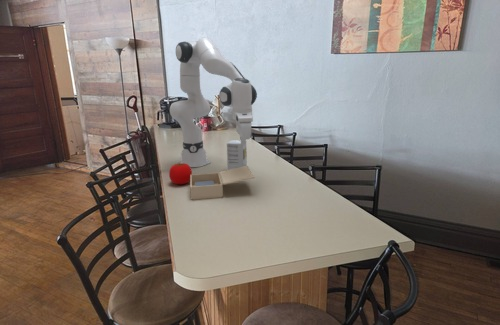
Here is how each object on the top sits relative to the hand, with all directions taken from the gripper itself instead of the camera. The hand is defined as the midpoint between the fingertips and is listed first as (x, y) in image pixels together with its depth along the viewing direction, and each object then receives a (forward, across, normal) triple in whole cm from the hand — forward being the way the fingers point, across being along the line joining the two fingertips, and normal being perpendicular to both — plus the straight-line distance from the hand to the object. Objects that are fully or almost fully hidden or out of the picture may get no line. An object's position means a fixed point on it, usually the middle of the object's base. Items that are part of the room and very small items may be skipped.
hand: (243, 145), depth 149 cm
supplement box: (+22, -28, +1) cm, 36 cm away
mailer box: (+21, +1, -18) cm, 28 cm away
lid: (+14, +1, -4) cm, 14 cm away
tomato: (+22, -14, -30) cm, 40 cm away
